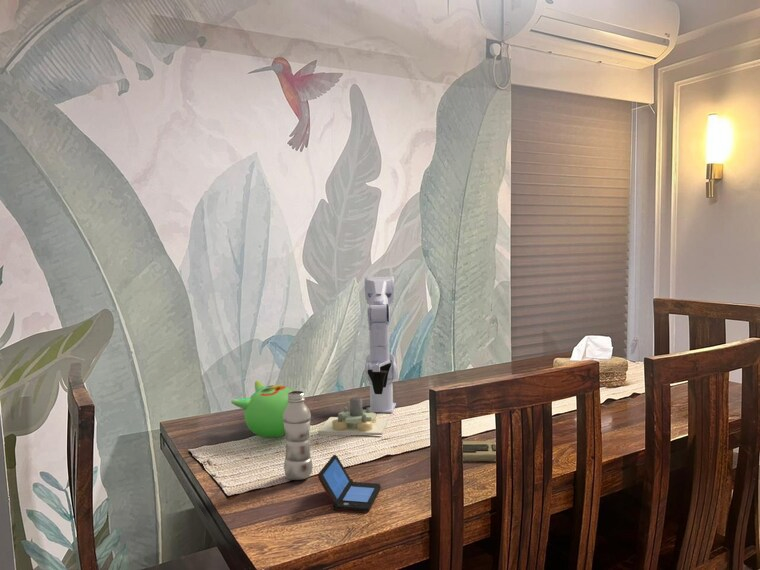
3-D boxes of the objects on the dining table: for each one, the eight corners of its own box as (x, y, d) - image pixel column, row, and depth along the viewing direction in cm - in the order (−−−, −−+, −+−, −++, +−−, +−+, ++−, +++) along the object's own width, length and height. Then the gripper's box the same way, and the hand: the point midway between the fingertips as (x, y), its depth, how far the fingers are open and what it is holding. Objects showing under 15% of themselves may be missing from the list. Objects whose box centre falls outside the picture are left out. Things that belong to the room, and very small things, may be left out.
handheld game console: (369, 514, 115) (368, 478, 114) (317, 510, 117) (316, 475, 117) (382, 488, 127) (381, 455, 126) (335, 485, 129) (334, 452, 129)
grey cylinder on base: (344, 412, 173) (344, 394, 173) (376, 413, 171) (376, 395, 171) (335, 422, 163) (334, 403, 163) (369, 424, 161) (368, 404, 161)
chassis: (330, 420, 175) (329, 404, 175) (388, 421, 173) (388, 405, 172) (319, 434, 163) (318, 417, 162) (382, 436, 160) (381, 418, 159)
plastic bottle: (299, 469, 138) (296, 387, 136) (318, 476, 133) (316, 391, 132) (278, 478, 133) (275, 393, 131) (298, 486, 128) (295, 398, 127)
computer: (438, 463, 141) (438, 450, 140) (437, 451, 149) (437, 438, 149) (503, 463, 140) (503, 450, 139) (499, 451, 148) (499, 439, 147)
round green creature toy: (290, 447, 153) (288, 393, 151) (231, 444, 156) (228, 391, 155) (311, 426, 170) (310, 377, 169) (258, 423, 174) (256, 375, 172)
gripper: (370, 340, 177) (371, 384, 178) (361, 349, 163) (362, 396, 164) (392, 340, 176) (393, 384, 177) (386, 349, 162) (387, 397, 163)
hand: (380, 390), depth 171 cm, fingers open, 7 cm apart
